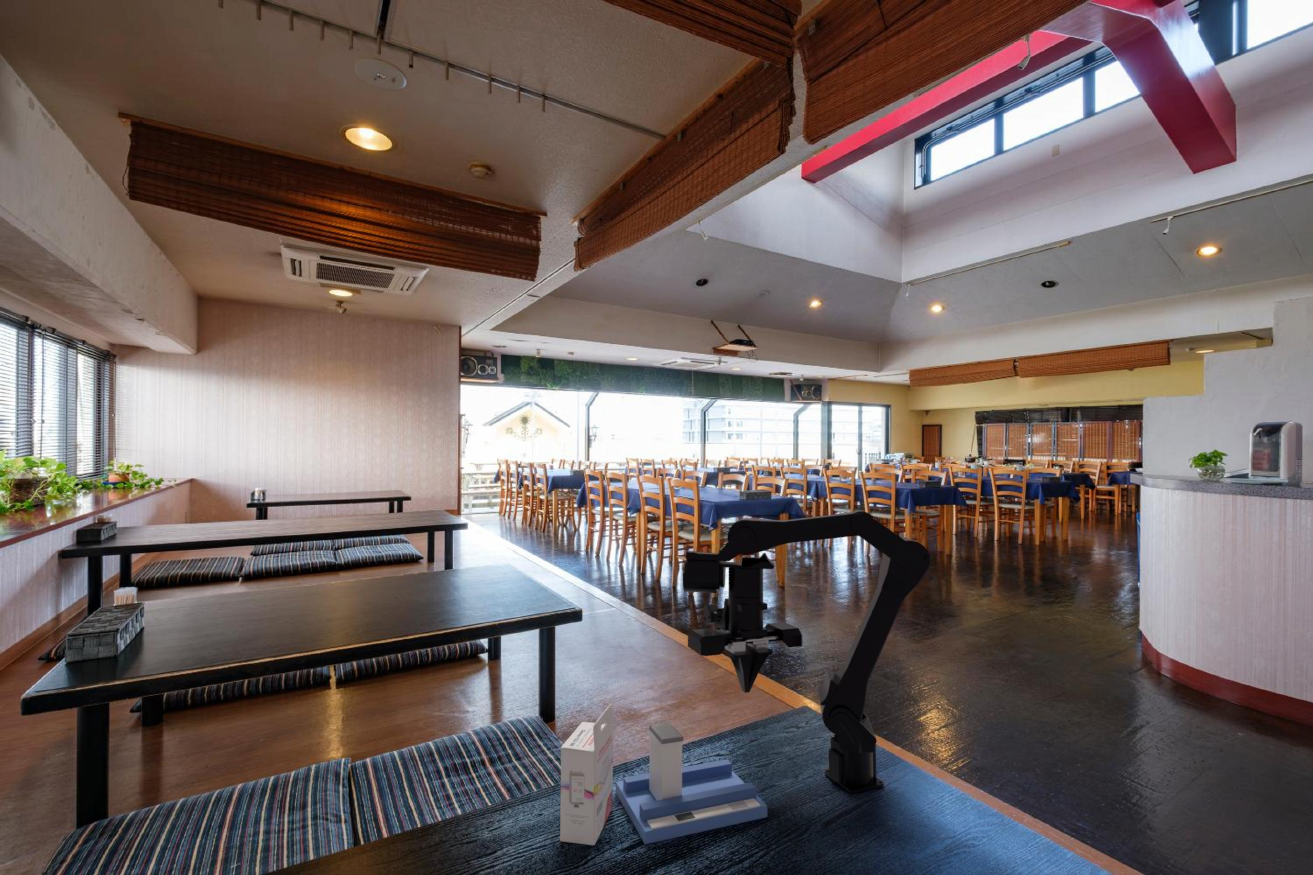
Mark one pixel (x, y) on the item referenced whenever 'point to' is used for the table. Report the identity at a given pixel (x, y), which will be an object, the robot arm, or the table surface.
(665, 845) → the table surface
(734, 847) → the table surface
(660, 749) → the switch tab
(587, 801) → the ink cartridge box
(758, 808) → the blue railed tray
